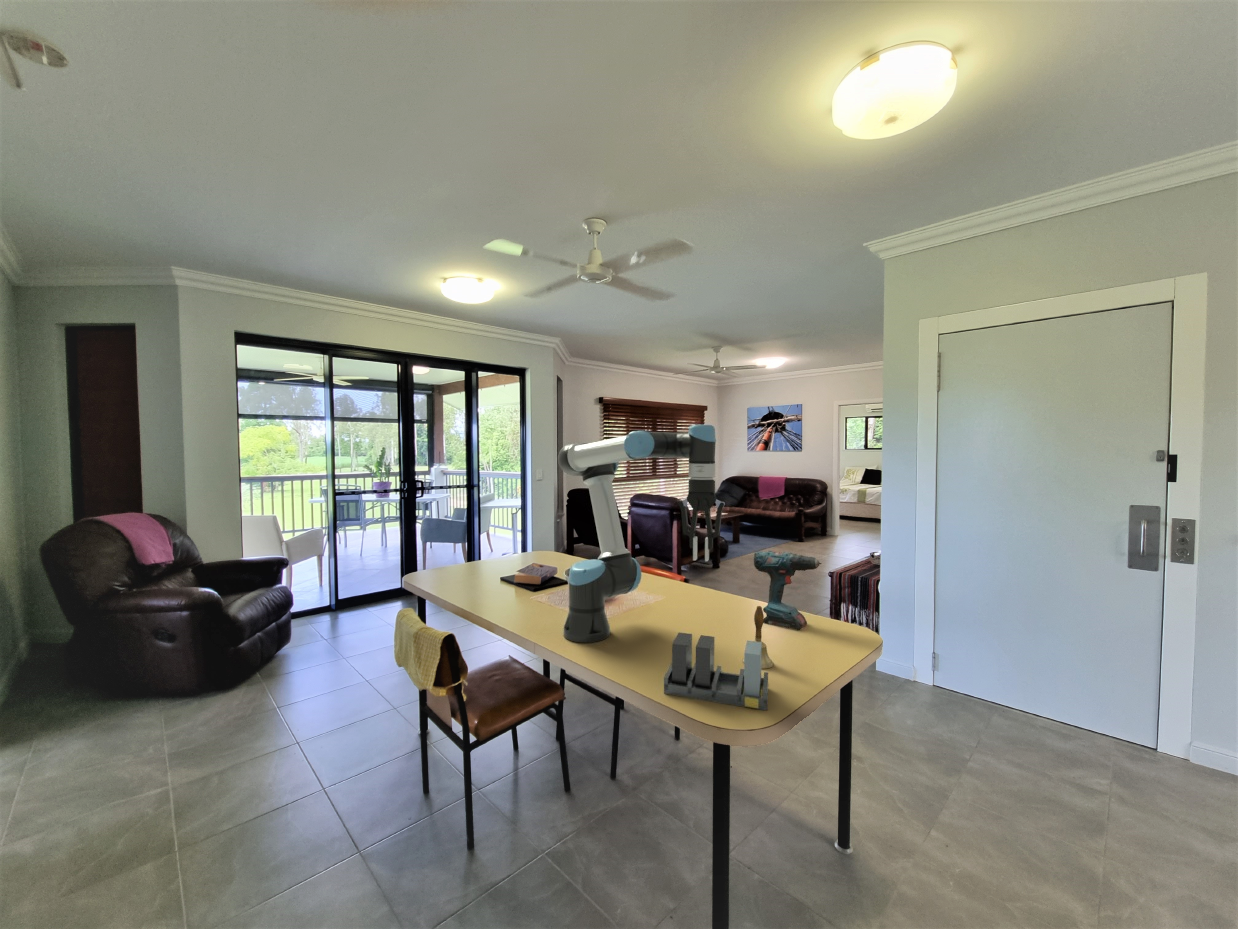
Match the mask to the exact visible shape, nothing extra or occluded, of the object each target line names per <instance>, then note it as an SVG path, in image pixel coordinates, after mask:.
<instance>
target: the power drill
mask: <svg viewBox="0 0 1238 929" xmlns="http://www.w3.org/2000/svg"><path fill="white" fill-rule="evenodd" d="M819 560H820V559H818V558H816V557H814V556H805V555H802V554H796V553H794V554H793V553H792V552H787V551H786V552H785V551H784V552H781V551H780V552H776V551H772V550H768V551H757V552H755V553H754V554H753V566H754V568H755V569H756V570H757V571H758V572H762V573H765V574H767V575H768V576H769V578H770V580H769V582H770V583H769V589H768V602H767V605H766V606H764V607H762V611H763V613H765V616H764V621H763V624H767V625H770V626H771V625H772V626H775V627H776V626H777V627H781V628H785V629H792V630H794V631H802V629H804V628H805V626H807V625H808V622H807V619H806V617H805V615H803V614H802V613H801V612H800V611H798V609H797V607H796V606H794V605H792V604H787V603H786V602H785V603H784V602H782V601H783V600H782V599H783V594H784V590H785V586H787V585H791V584H792V583H793V582H792V579H791V577H793V576H795V574H796V572H797V571H798V572H799V571H801V572H802V571H803V572H805V571H807V570H808V571H809V570H817V569H818V567H820V565H822V563H821V562H820V561H819Z"/></svg>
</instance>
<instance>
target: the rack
mask: <svg viewBox="0 0 1238 929" xmlns="http://www.w3.org/2000/svg"><path fill="white" fill-rule="evenodd" d="M671 644H672V645H671V647H672V648H671V652H672V653H671V663H670V666H669V667H668V669H667V671H666V672H665V675H664V677H663V694H664V695H671V696H677V697H683V698H688V699H694V700H701V701H708V702H713V703H719V704H724V705H730V706H737V707H743V708H748V709H754V710H761V711H768V698H769V697H768V696H769V672H766V671H764V672H763V677H761V692H760V697H756V696H750V695H744V668H740V670H739V674H737V673H732V672H725V671H722V665H717V666H716V669H715V636H711V635H702V634H701V635H700V636H699V638H698V641H697V642H696V645H695V662H694V665H693V664H692V663H693V653H692V652H693V651H692V650H693V634H692V633H686V632H680V631H679V632H677V635H676V636H675V638H674V640H673V642H672V643H671ZM692 666H693V667H692Z"/></svg>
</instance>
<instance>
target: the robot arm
mask: <svg viewBox="0 0 1238 929" xmlns="http://www.w3.org/2000/svg"><path fill="white" fill-rule="evenodd" d="M716 442H717V439H716V428H715V426H714V425H712V424H691V425H689V427H688V432H687V431H686V432H668V431H667V432H665V431H663V432H662V431H649V430H647V431H646V430H633V431H631V432H629V433H628V434H626V435H622V436H617V437H612V438H608V439H603V440H598V441H593V442H589V443H583V442H573V443H568V444H566V445H563V446H562V448H561V449H560V450H559V452H558V455H557V463H558V466H559V467H560V469H561V470H562V471H563V472H564V473H566V475H570V476H572V477H582V482H583V484H584V485H586V486H587V488H588V491H589V496H590V502H591V506H592V514H593V517H594V523H595V527H596V533H597V539H598V543H599V549H600V554H599V556H598V557H597V559H596V558H595V559H594V558H593V559H583V560H580V561H577V562H574V563H573V564H572V565H571V566H570V569H569V574H568V579H567V580H568V612H567V617H566V619H565V622H564V625H563V637H564V638H565V639H566V640H568V641H571V642H575V643H587V644H588V643H596V642H600V641H603V640H606V639H607V638H608V637H610V635H611V627H610V623H609V620H608V617H607V613H606V610H605V599H608V598H612V597H613V598H614V597H616V596H617V597H618V596H620V595H626V594H628V593H631V592H634V591H635V590H636V589H637V588H638V587H639V585H640V583H641V582H642V581H641V579H642V568H641V565H640V563H639V561H637V559H636V558H634V557H632V553H631V551H629V549H627V548H626V547H625V540H624V537H623V536H624V535H623V531H622V526H621V520H620V517H619V510H618V505H617V500H616V495H615V490H614V487H613V486H614V485H613V480H614V479H615V478H616V475H615V473H616V472H617V471H618V466H619V464H620V463H622V462H627V461H634V460H641V459H651V458H654V459H655V458H656V459H657V458H660V459H661V458H662V459H663V458H664V459H673V458H675V459H678V458H679V459H680V458H681V459H683V458H684V459H685V458H686V459H688V477H689V478H690V479H689V480H688V494H687V495H686V498H685V499H682V500H679V501H678V506H679V507H680V508H679V509H680V514H681V524H682V525H681V526H682V533H683V535H684V536H685V535H686V536H688V538H689V548H690V549H692V561H697V560H698V536H696V530H697V529H696V528H697V522H698V518H699V516H698V515H699V512H700V511H702V512H704V513H703V514H704V518H705V525H706V526H705V527H706V534H707V536H706V537H705V538H704V562H708V561H709V560H710V550H713V548H714V538H717V537H719V535H720V532H721V525H722V524H721V522H722V515H723V509H724V507H725V505H726V503H725V501H721V500H719V499H718V498H717V495H716V480H715V479H714V478H715V477H716V445H717V444H716ZM688 504H689V505H690V507H691V508H692V516H691V521H690V527H689V520H688V509H687V507H688ZM714 505H715V508H717V509H716V514H715V516H716V517H715V523H714V524H715V525H714V529H713V524H712V517H711V509H712V507H713V506H714ZM689 528H690V529H689ZM713 530H714V531H713Z"/></svg>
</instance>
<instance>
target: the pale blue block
mask: <svg viewBox="0 0 1238 929" xmlns="http://www.w3.org/2000/svg"><path fill="white" fill-rule="evenodd" d="M762 642H763V641H762ZM762 642H755V640H746V645H745V647H744V648H745V649H744V652H743V654H744V657H743V659H744V662H743V665H744V667H743V669H744V695H750V696H756V697H760V692H761V678H762V669H761V647H762Z"/></svg>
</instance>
